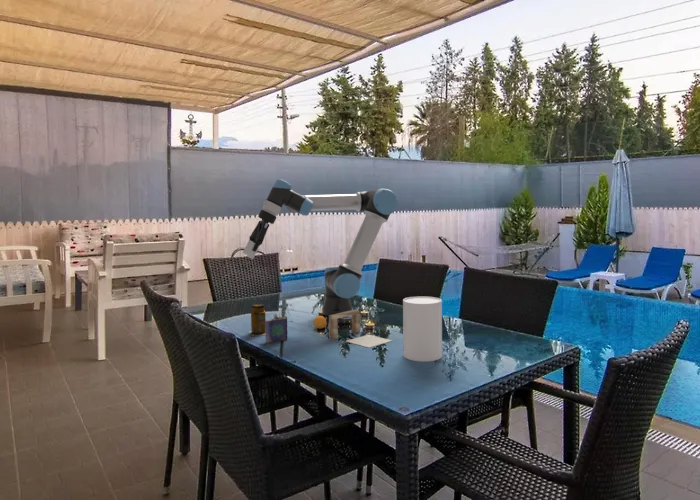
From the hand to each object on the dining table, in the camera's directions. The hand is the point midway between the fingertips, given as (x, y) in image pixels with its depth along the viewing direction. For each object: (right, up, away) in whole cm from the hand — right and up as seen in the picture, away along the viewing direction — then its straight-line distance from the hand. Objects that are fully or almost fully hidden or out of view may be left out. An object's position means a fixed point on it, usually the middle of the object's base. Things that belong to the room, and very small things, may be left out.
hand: (247, 256), depth 228 cm
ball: (+32, -29, -2) cm, 43 cm away
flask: (+16, -34, -20) cm, 43 cm away
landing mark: (+52, -33, -23) cm, 66 cm away
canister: (+71, -35, -43) cm, 90 cm away
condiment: (+6, -33, -7) cm, 34 cm away
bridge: (+43, -32, -13) cm, 55 cm away
